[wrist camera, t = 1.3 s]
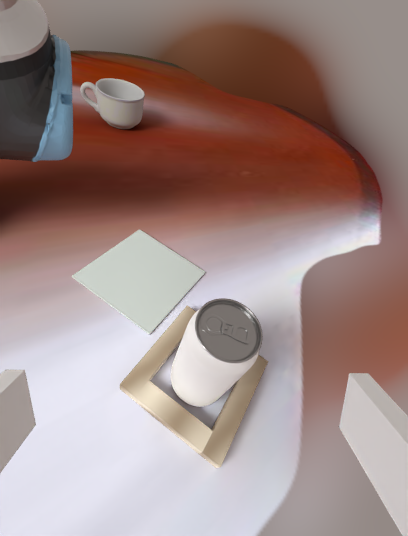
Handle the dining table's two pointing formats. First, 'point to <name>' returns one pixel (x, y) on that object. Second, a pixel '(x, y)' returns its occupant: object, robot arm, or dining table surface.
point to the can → (215, 351)
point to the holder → (174, 415)
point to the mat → (140, 279)
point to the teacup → (116, 102)
